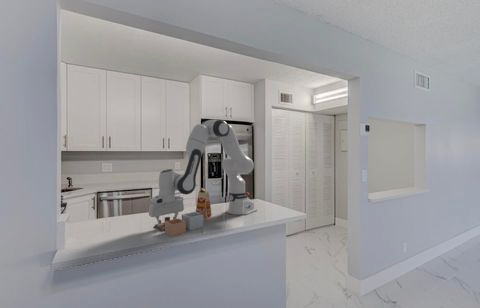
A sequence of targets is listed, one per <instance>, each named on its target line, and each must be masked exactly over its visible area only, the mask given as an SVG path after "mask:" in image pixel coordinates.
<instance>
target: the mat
mask: <svg viewBox="0 0 480 308" xmlns="http://www.w3.org/2000/svg"><path fill="white" fill-rule="evenodd" d="M153 227H154V228H155V229H157V230H159V231H160V232H165V230H162V229H160V228H158V227H156V226H155V225H153Z"/></svg>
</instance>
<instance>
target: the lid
mask: <svg viewBox="0 0 480 308" xmlns="http://www.w3.org/2000/svg"><path fill="white" fill-rule="evenodd" d="M169 220H171V216H165V217H164V222H161V223H160V224H158V223H156V224H154V226H156V227H158V228H160V229H162V230H165V221H169Z"/></svg>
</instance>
